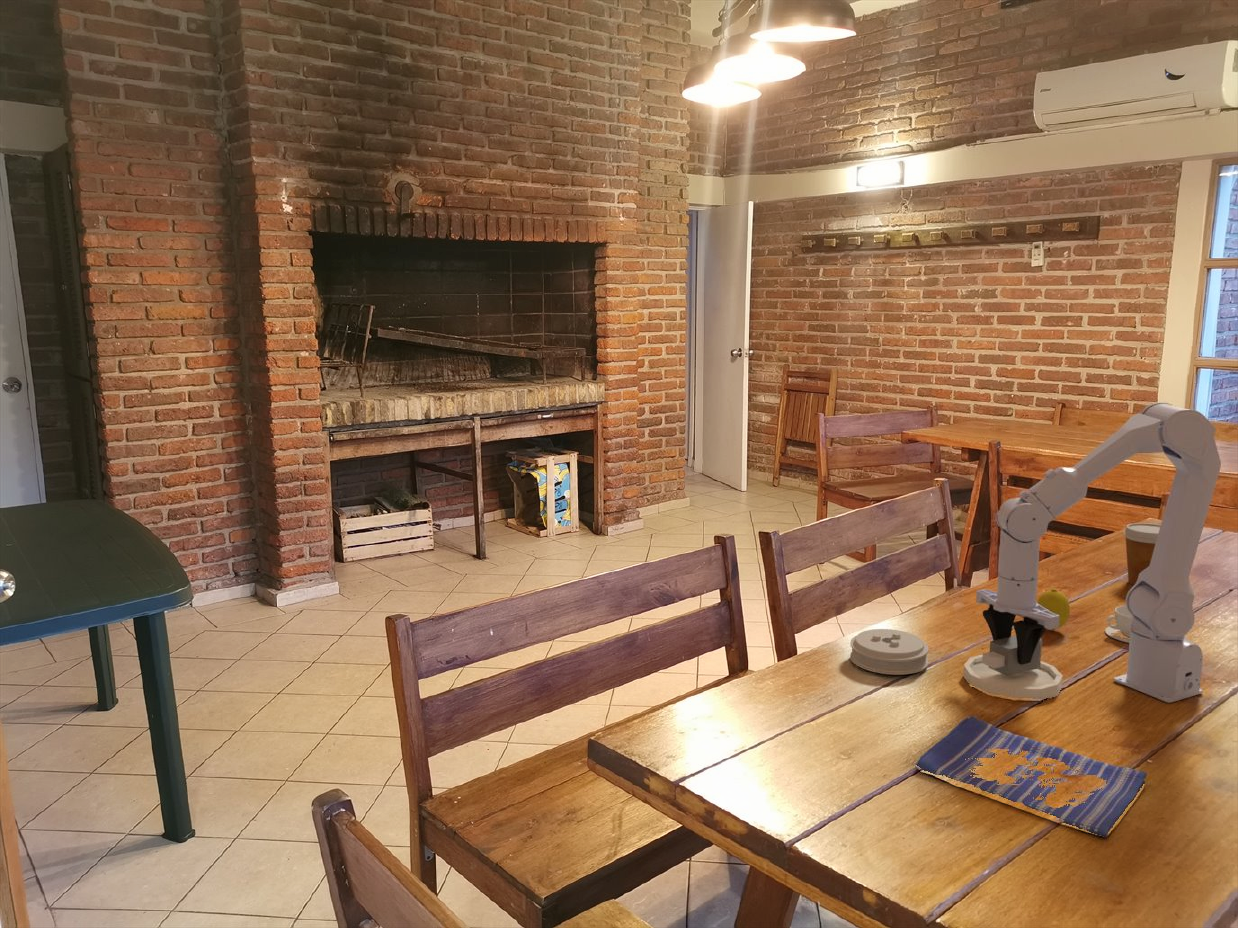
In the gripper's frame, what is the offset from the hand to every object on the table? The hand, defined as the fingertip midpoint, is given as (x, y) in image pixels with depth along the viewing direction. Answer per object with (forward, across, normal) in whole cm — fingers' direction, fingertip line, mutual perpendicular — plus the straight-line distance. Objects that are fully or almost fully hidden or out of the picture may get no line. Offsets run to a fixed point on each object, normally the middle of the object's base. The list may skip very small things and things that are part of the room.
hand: (1013, 658), depth 145 cm
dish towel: (+5, +22, -21) cm, 31 cm away
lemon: (+4, -13, +24) cm, 28 cm away
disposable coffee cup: (+4, -23, +63) cm, 67 cm away
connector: (+2, 0, 0) cm, 2 cm away
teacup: (+4, -4, +35) cm, 35 cm away
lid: (+5, -15, -12) cm, 20 cm away
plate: (+4, 0, 0) cm, 4 cm away
